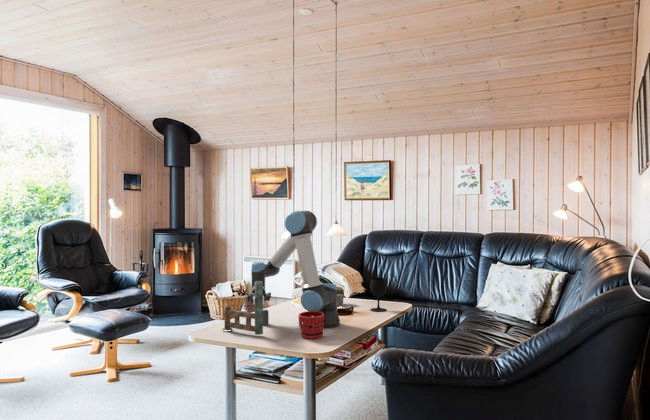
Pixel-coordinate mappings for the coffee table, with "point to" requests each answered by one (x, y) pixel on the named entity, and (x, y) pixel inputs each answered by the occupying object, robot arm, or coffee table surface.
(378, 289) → the wine glass
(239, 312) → the gate
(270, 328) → the coffee table surface
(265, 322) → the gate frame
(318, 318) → the plant pot
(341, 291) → the shell
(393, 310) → the coffee table surface
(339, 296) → the digital clock
